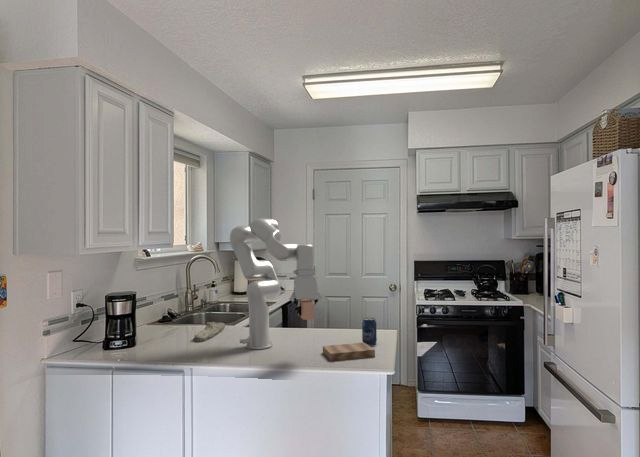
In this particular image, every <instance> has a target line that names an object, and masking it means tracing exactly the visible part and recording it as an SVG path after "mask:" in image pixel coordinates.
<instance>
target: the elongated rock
mask: <svg viewBox="0 0 640 457" xmlns="http://www.w3.org/2000/svg"><path fill="white" fill-rule="evenodd" d="M225 327H226V324H225V323H224V322H215V321H211V322H210V321H207V322H206V323H205V327H204V329H202V330H201V331H200V332H198V333H196V334H194V338H193V340H194V342H197V343H203V342H206V341H208V340H210V339H212V338H213V337H216V336H217V335H218V334H219V333H221V332H222V331H224V328H225Z"/></svg>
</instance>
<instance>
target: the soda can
mask: <svg viewBox="0 0 640 457" xmlns="http://www.w3.org/2000/svg"><path fill="white" fill-rule="evenodd" d="M361 331H362V334H361V335H362V336H361V338H362V339H361V340H362V343H366V344H367V345H369V346H374V345H376V343H377V340H378V339H377V338H378V337H377V334H378V333H377V331H378V330H377V321H376V318H375V317H363V320H362V321H361Z"/></svg>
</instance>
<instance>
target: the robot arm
mask: <svg viewBox="0 0 640 457" xmlns="http://www.w3.org/2000/svg"><path fill="white" fill-rule="evenodd" d="M281 238H282V233H281V231H280V226H279V224H278V222H277V220H275V219H273V218H256V219H253V220H252V221H251V222H250V224H249V225H237V226H235V227H233V228H232V230H231V231H230V234H229V244H230V246H231V249H232V251H233V253H234V254H235V256H236V259H237V261H238V264H239V266H240V269H241V272H242V275H243V277H244V279H246V280H248V281H251V282H249V284H247V286H246V290H245V291H246V298H247V301H248V302H247V304H248V325H249V326H248V327H249V328H248V330H249V331H248V333H249V334H248V335H249V336H248V337H245V338H240V339H239V344H243V345H245V344H246V345H245V347H246V348H247V349H249V350H265V349H270V348H271V347H273V344H274V343H273V342H272V341H270V311H269V310H270V309H269V306H268V304H267V302H266V300H270V299H276V298H277V297H279V296H280V294H281V291H282V289H281V283H280V281H279V279H278V276H277V274H276V271H275V269H274V266H273V264H272V262H270V261H269V260H266V259H260V260H259V259H257V257H256V255H255V253H254V250H252V248H251V247H250V246H249V245H248V244H247V243H249V244H250V243H254V244H255V243H261V242H263V243H265V246H266V247H265V248H266V249H267V252H268V254H270V255H271V256H272V257H273V258H275V259H276V261H277V260H278V261H280V262H287V261H288V262H289V261H291V262H292V261H296V268H295V270H293V271H292V272H293V274H295V276H294V282H293V291H292V294H291V295H290V296H289V298H288V299H289V301H291V302H292V303H293V304H295V305H296V313H297V316H298V317H300V316H301V305H300V304H301V300H311V301H312V302H314V307H315V305H317V304H318V302H319V301H320V300H321V299H323V298H322V296H321V294H320V293H319V288H318V281H317V276H316V275H315V262H314V260H315V258H314V257H315V256H314V255H315V253H314V252H315V250H314V245H312V244H308V243H305V244H304V243H303V244H301V243H281V242H280V241H281Z"/></svg>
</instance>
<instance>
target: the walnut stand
mask: <svg viewBox="0 0 640 457" xmlns="http://www.w3.org/2000/svg"><path fill="white" fill-rule="evenodd" d="M322 354H323V355H324V356H325V357H326V358H328V359H329V361H330V362H334V361H335V362H336V361H343V360H355V359H364V358H374V357H376V350H375V349H374V348H373V347H371V345H367V344H366V343H363V342H356V343H355V342H353V343H343V344H331V345H323V346H322Z"/></svg>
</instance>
